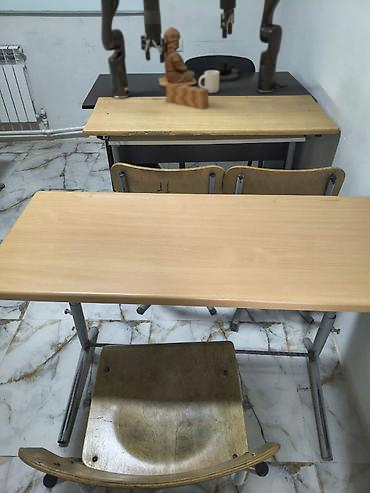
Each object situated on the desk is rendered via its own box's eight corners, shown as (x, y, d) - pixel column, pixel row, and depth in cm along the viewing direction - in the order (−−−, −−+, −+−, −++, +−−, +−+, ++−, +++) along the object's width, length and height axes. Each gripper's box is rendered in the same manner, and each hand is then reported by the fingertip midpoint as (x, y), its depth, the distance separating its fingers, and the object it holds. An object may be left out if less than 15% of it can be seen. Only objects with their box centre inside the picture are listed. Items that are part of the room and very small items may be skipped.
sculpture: (197, 88, 213) (196, 30, 194) (156, 89, 214) (152, 31, 194) (196, 75, 234) (196, 22, 215) (159, 76, 235) (156, 23, 215)
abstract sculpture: (206, 66, 216) (199, 58, 231) (206, 82, 222) (199, 74, 237) (246, 63, 219) (237, 56, 234) (245, 79, 224) (236, 71, 240)
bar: (166, 101, 197) (165, 85, 192) (171, 99, 200) (170, 82, 195) (203, 109, 187) (203, 91, 181) (208, 106, 190) (208, 89, 184)
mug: (199, 94, 205) (199, 75, 198) (197, 89, 211) (197, 71, 204) (220, 92, 206) (220, 73, 199) (217, 88, 212) (217, 69, 205)
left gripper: (170, 21, 158) (171, 62, 168) (146, 19, 164) (149, 57, 175) (159, 24, 153) (161, 65, 164) (135, 21, 160) (138, 61, 170)
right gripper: (231, -2, 159) (230, 39, 170) (240, -6, 169) (238, 33, 179) (215, -2, 161) (215, 39, 172) (224, -6, 171) (224, 33, 182)
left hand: (155, 61), depth 169 cm, fingers open, 8 cm apart
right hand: (227, 36), depth 176 cm, fingers open, 8 cm apart
